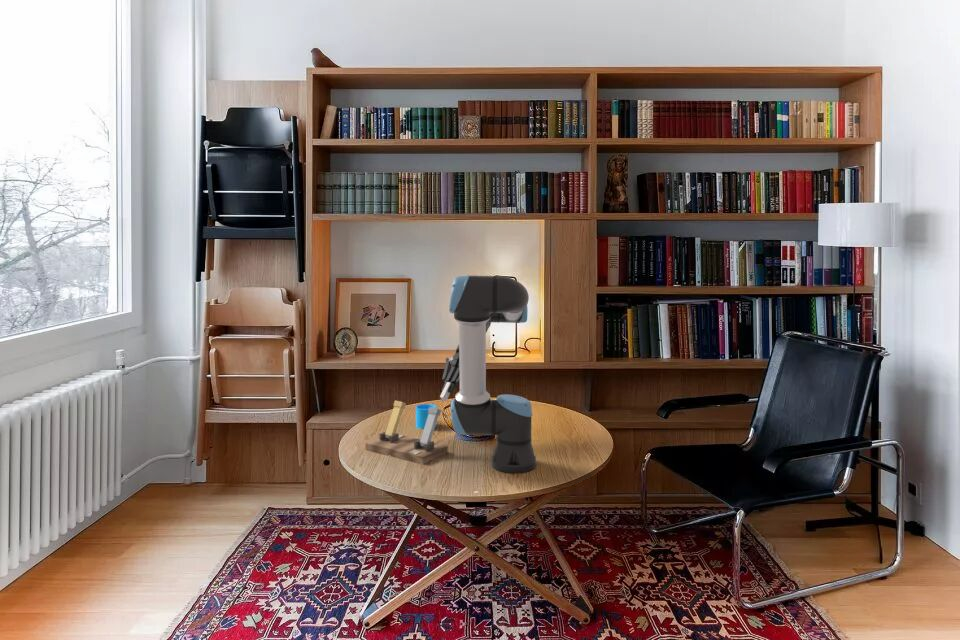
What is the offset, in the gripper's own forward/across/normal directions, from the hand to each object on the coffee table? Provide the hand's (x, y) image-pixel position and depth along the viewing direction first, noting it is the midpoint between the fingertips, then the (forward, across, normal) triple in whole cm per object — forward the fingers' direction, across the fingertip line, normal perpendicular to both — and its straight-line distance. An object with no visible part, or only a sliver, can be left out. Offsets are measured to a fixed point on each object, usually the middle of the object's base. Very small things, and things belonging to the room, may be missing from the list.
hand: (442, 399), depth 235 cm
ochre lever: (+18, +15, -1) cm, 24 cm away
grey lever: (+18, -1, -1) cm, 18 cm away
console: (+21, +7, -4) cm, 22 cm away
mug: (+1, +20, -24) cm, 32 cm away
